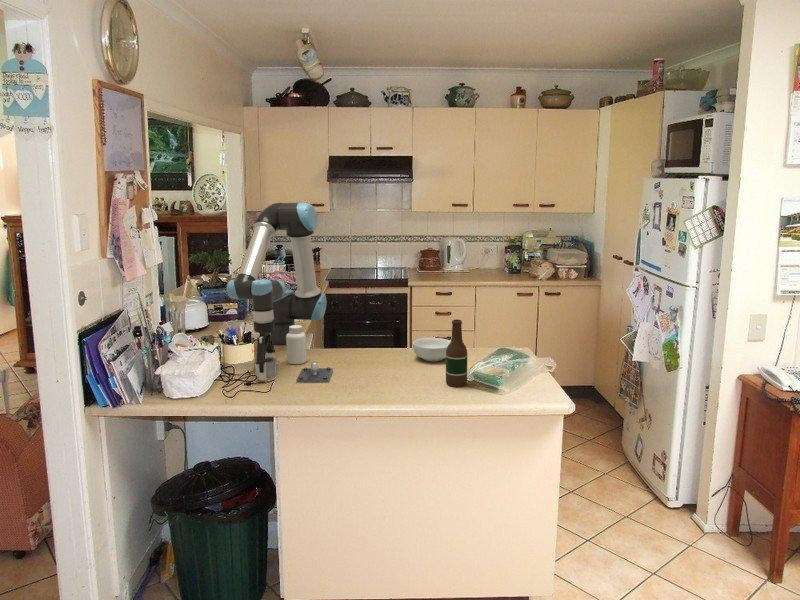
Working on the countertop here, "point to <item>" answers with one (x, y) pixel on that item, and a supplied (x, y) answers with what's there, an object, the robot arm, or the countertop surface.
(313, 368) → the shaft stand
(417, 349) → the cereal bowl
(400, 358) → the countertop surface
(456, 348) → the beer bottle
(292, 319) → the robot arm
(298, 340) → the pill bottle
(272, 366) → the hub
